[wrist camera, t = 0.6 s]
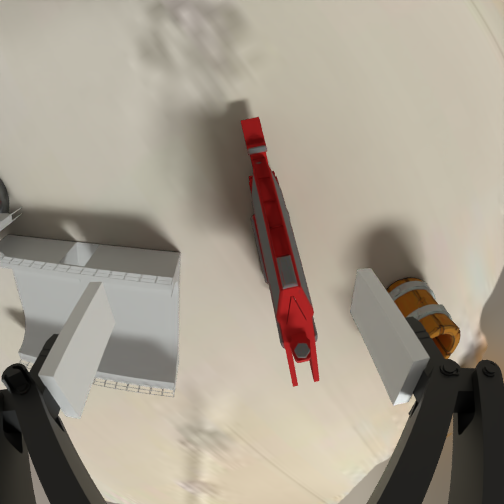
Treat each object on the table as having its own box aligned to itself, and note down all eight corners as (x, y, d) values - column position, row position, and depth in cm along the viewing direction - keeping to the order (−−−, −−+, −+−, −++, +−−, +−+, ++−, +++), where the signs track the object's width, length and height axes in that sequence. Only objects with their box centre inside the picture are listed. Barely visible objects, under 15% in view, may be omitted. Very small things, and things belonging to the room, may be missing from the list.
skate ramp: (34, 336, 50) (12, 375, 41) (3, 205, 38) (-38, 234, 29) (178, 361, 54) (172, 409, 45) (182, 218, 42) (168, 257, 32)
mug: (438, 282, 50) (483, 336, 37) (390, 350, 57) (420, 408, 43) (397, 266, 48) (443, 324, 34) (347, 341, 54) (374, 407, 41)
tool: (218, 125, 35) (236, 336, 20) (264, 113, 34) (320, 319, 19) (262, 248, 54) (286, 397, 39) (293, 240, 54) (326, 389, 39)
